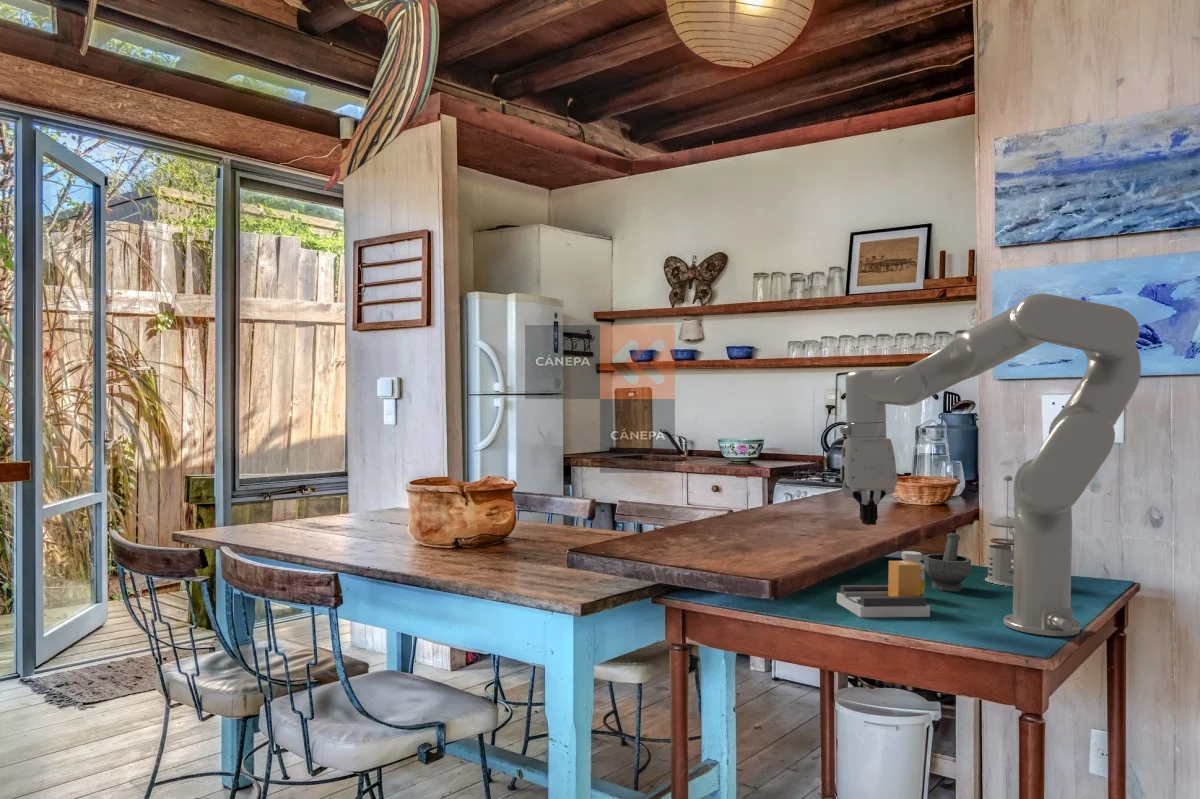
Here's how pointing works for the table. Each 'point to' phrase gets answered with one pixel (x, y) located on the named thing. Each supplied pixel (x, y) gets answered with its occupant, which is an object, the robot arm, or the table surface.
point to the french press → (1001, 551)
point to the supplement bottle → (916, 558)
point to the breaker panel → (882, 609)
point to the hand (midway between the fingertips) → (868, 523)
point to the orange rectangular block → (904, 578)
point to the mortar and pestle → (948, 566)
